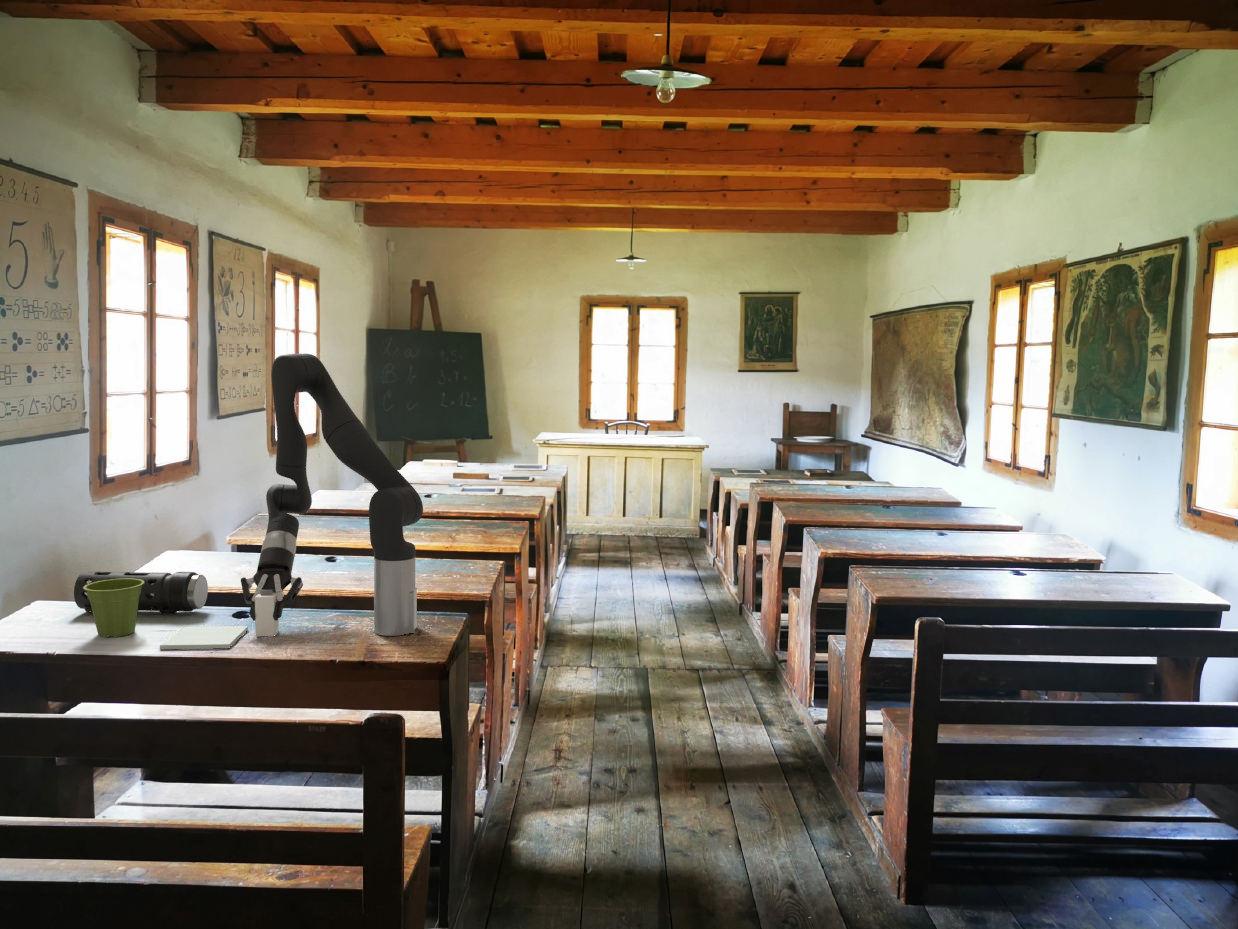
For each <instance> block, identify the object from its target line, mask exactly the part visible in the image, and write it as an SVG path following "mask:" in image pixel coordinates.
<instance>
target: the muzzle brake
mask: <svg viewBox="0 0 1238 929" xmlns="http://www.w3.org/2000/svg"><path fill="white" fill-rule="evenodd" d="M123 578H133V579H141V580H143V581H144V584H143V585H142V587H141V594H140V595H139V602H138V610H137V613H138V612H140V611H142V612H159V614H161V615H175V614H177V613H178V612H193V611H194V610H200V609H202V608H204V606H205V604H206V603H207V602H206V601H207V599H208V595H209V593H208V592H209V585H208V580H207V578H206V576H205V575H203V574H199V573H197V572H194V571H176V572H174V573H170V572H153V571H152V572H133V571H132V572H131V571H129V572H128V571H87V570H86V571H83V572H81V573H80V574H79V575H78V576H77V578H76V581H75V583H74V588H73V598H74V603H75V605H76V606H77V608H79V609H83V610H84V611H85V613H93V611H92V607H91V603H90V600H89V599H88V595H87V592H86V590H84V589H83V587H84V586H85V585H87V584H90V583H94V582H98V581H103V580H110V579H123ZM88 581H90V582H88ZM89 611H91V612H89Z"/></svg>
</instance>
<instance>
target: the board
mask: <svg viewBox="0 0 1238 929" xmlns="http://www.w3.org/2000/svg"><path fill="white" fill-rule="evenodd" d="M246 631H247V632H248V631H249V626H246V625H245V626H242V625H241V626H239V625H238V626H235V625H234V626H233V625H232V626H230V625H229V626H182V627H181V628H180V629H179V630H177V631H176V632H175V633H174V634H172V635H171V636H170V637H169V638H166V640H165V641H163V642H162V643H160V645H159V650H160V649H182V650H214V649H213V648H229V647H230V646H231V645H233V644H234V643H235V642H236V641H237V640H238V639H239V638H240V637H241V636H242V635H243V634H244V635H245V634H247V632H246ZM244 635H243V636H244ZM243 636H242V637H243ZM242 637H241V638H242ZM241 638H240V639H241ZM240 639H239V640H240ZM239 640H238V641H239ZM238 641H237V642H238ZM237 642H236V643H237ZM236 643H235V644H236ZM235 644H234V645H235ZM234 645H233V646H234Z"/></svg>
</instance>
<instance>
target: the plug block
mask: <svg viewBox="0 0 1238 929" xmlns="http://www.w3.org/2000/svg"><path fill="white" fill-rule="evenodd" d="M276 602H277V593H273V591H272V590H261V593H260V594H258V595H257V596H256V597H255V616H256V619H255V622H254V625H255V626H254V627H255V628H254V629H255V630H254V631H255V637H256V638H257V637H258V636H268V637H275V636H276V635H277V634H278V633H279V632H278V631H280V629H279V628H280V626H279V625H280V622H279V620H280V618H278V620H274V618H273V612H274V609H275V604H276ZM274 635H275V636H274Z"/></svg>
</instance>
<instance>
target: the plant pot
mask: <svg viewBox="0 0 1238 929" xmlns="http://www.w3.org/2000/svg"><path fill="white" fill-rule="evenodd" d="M89 583H90V582H89ZM89 583H87V585H85V586H84V587H83V589H84V590H86V592H87V593H86V592H85V593H86V595H87V596H88V599H89V600H90V603H91V607H92V611H93V612H92V614H93V619H94V623H95V624H94V625H95V628H96V632H97V636H99V637H102V638H108V637H115V638H119V637H118V636H121V637H124V636H129V635H131V634H132V633H133V632H135V631H136V624H137V617H138V616H137V615H138V612H137V610H138V602H139V595H140V594H141V587H142V585H143V584H144V581H143V580H141V579H133V578H123V579H110V580H103V581H98V582H94V583H90V584H89ZM128 634H129V635H128ZM123 635H124V636H123Z"/></svg>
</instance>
